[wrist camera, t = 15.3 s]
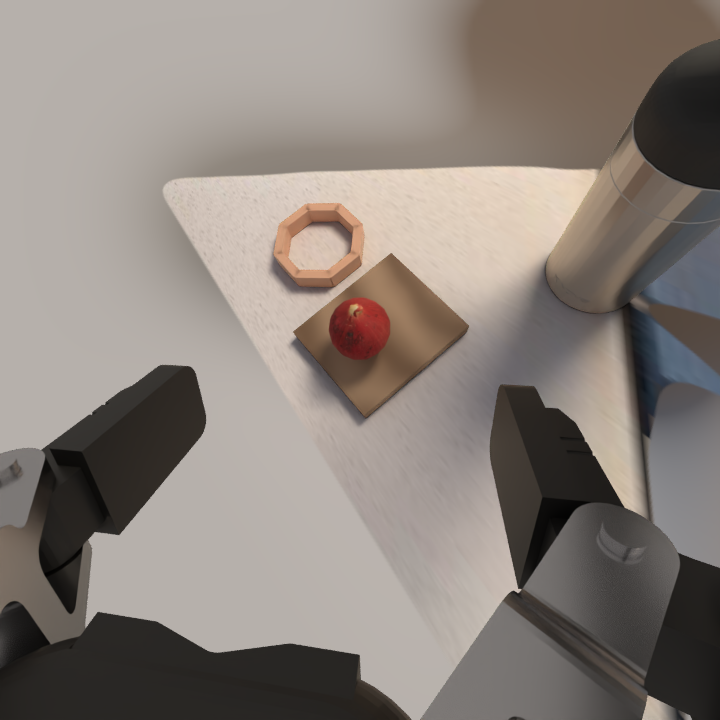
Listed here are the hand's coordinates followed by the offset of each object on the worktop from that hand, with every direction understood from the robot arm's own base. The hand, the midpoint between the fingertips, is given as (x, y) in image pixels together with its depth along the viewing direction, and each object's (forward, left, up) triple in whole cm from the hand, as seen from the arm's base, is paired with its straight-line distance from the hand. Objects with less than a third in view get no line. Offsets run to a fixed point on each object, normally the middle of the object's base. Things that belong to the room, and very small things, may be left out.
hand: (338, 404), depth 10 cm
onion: (-6, -11, -27) cm, 30 cm away
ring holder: (-10, -24, -29) cm, 39 cm away
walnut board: (-8, -11, -29) cm, 32 cm away
